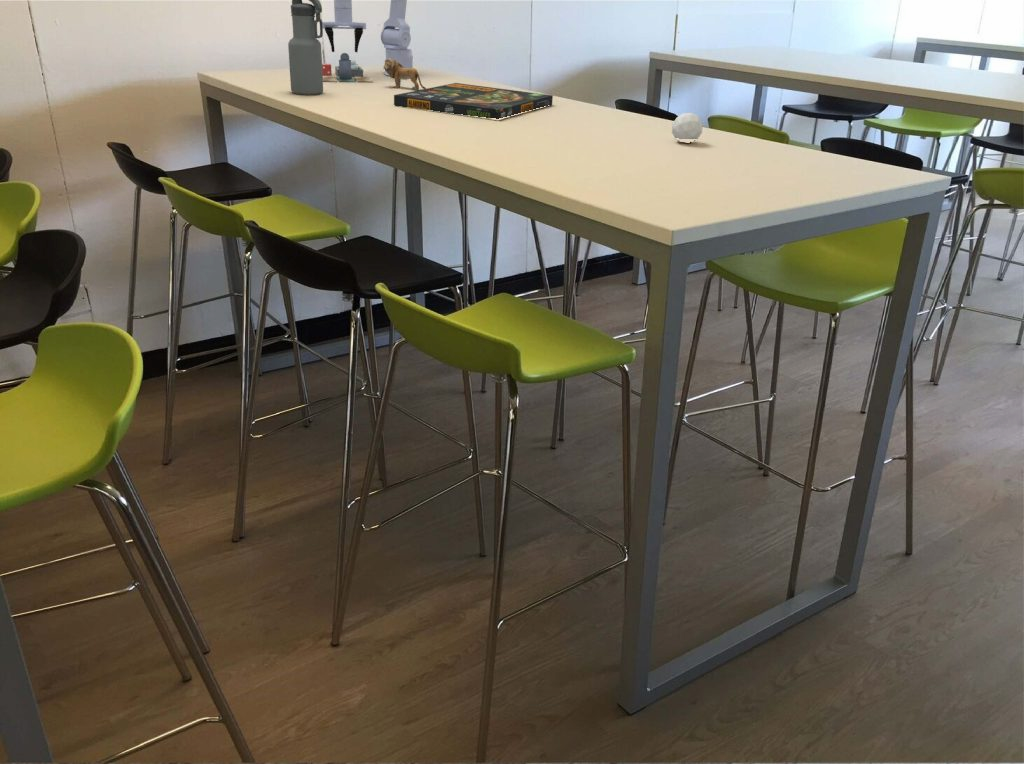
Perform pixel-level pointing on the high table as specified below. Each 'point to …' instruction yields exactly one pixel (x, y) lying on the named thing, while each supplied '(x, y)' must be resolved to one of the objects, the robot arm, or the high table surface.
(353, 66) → the dome
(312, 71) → the water bottle
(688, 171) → the high table surface
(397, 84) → the lion figurine
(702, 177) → the high table surface
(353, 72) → the dome frame
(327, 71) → the red die
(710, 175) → the high table surface
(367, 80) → the track
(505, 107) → the board game box
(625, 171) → the high table surface
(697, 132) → the geometric ball
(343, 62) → the pawn
